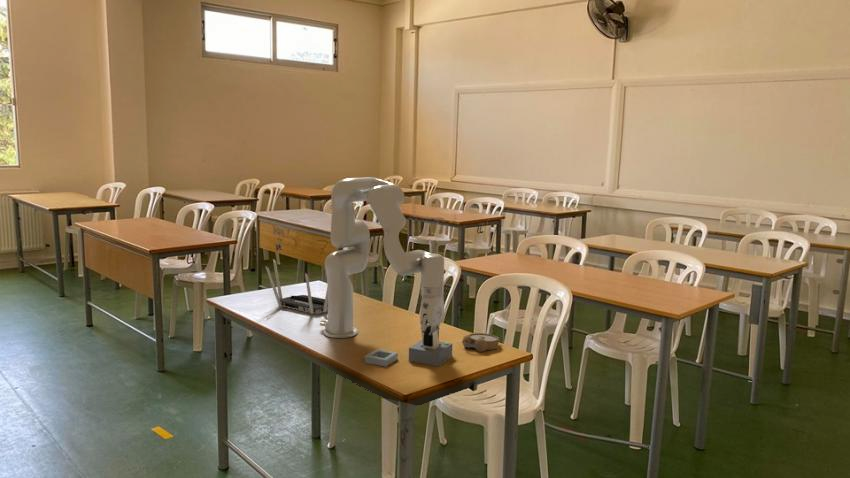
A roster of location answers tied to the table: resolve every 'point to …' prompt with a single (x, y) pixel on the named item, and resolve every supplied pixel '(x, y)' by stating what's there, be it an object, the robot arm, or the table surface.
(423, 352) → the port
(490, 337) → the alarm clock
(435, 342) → the plug
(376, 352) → the light grey square frame
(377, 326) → the table surface
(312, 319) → the table surface
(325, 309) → the wireless router
